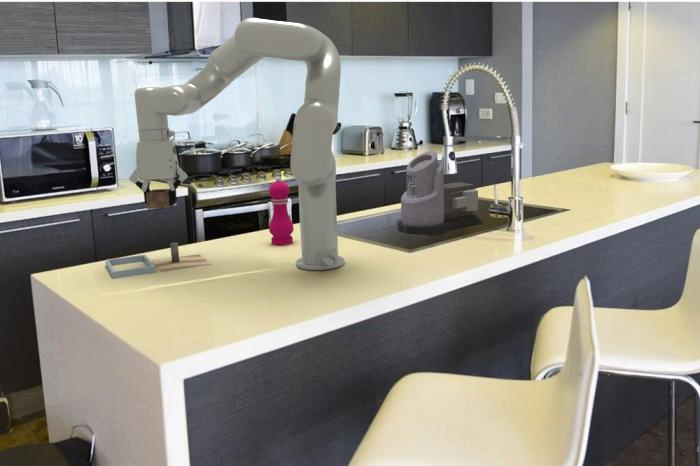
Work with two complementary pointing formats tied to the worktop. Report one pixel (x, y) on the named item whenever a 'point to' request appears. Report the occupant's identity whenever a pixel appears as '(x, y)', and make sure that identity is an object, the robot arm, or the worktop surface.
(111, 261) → the tray
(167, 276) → the worktop surface
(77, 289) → the worktop surface
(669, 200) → the worktop surface
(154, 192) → the collar
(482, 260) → the worktop surface
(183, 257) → the stake board
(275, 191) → the pepper mill
